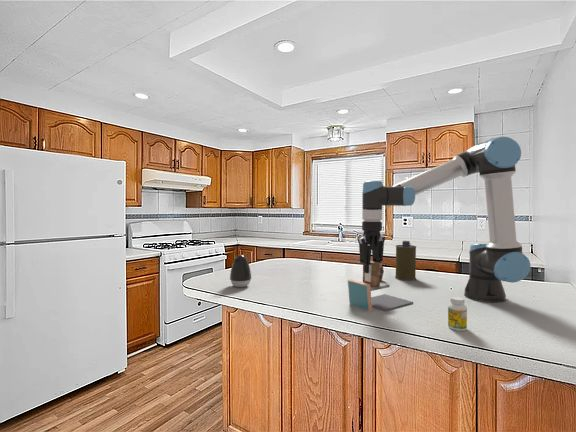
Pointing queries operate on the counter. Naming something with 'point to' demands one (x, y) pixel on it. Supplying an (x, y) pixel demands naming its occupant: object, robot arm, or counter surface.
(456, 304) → the supplement bottle
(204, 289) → the counter surface
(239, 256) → the black grey egg shape
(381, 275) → the cupcake
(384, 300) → the mat
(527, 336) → the counter surface
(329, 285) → the counter surface
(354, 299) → the tile
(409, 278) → the canister
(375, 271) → the wooden block on base
